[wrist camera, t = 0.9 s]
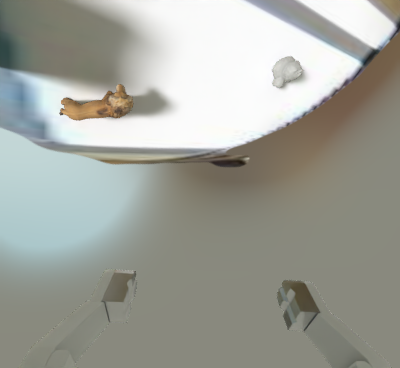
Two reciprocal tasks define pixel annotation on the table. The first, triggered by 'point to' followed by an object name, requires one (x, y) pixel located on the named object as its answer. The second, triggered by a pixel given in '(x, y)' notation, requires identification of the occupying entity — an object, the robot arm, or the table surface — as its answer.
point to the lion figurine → (99, 106)
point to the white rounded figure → (286, 71)
